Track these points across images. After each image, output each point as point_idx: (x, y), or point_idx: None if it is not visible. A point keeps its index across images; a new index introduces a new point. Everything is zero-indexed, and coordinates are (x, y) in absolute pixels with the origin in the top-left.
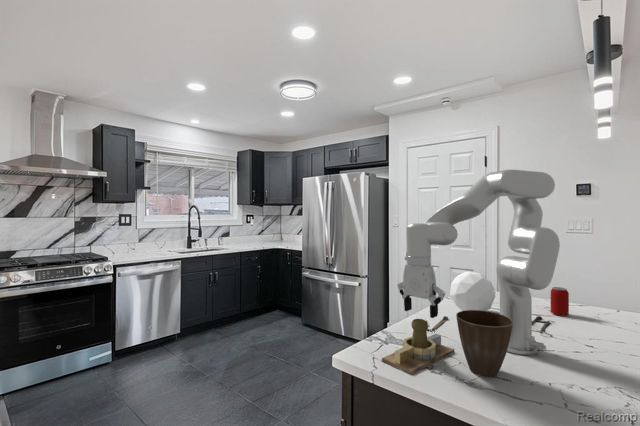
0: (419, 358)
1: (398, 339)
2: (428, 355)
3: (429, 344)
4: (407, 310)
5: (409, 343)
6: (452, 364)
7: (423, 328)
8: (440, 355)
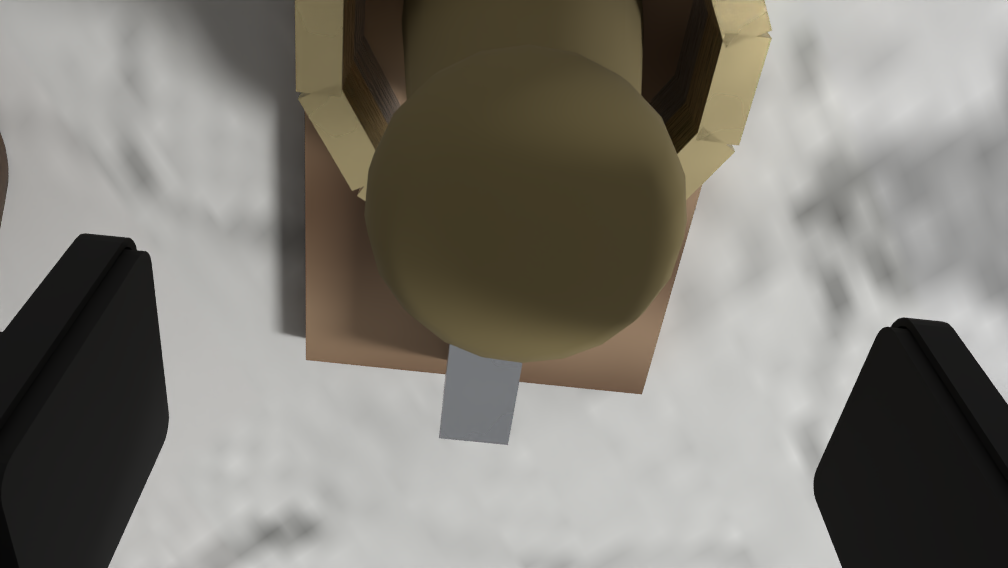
0: None
1: (925, 271)
2: None
3: None
4: (871, 357)
5: (695, 78)
6: (156, 73)
7: (394, 116)
8: (315, 135)
